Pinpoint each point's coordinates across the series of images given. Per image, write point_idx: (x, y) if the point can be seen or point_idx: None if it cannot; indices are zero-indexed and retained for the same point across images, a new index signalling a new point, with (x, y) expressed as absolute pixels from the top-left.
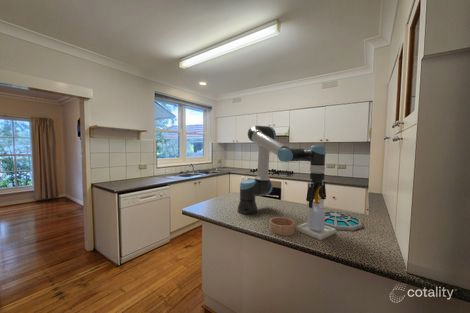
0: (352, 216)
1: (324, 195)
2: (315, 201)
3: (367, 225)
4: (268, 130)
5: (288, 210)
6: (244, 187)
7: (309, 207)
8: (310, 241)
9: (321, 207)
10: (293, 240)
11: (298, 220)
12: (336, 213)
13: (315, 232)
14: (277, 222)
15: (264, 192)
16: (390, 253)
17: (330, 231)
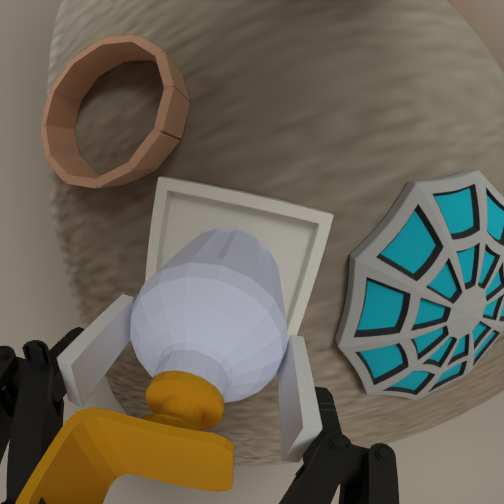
0: (488, 347)
1: (343, 493)
2: (160, 409)
3: (441, 391)
4: None
5: (436, 33)
6: None
7: (97, 325)
8: (111, 284)
9: (282, 380)
10: (69, 223)
11: (336, 117)
12: (482, 310)
13: None
14: (152, 58)
15: None
16: (243, 458)
17: None
